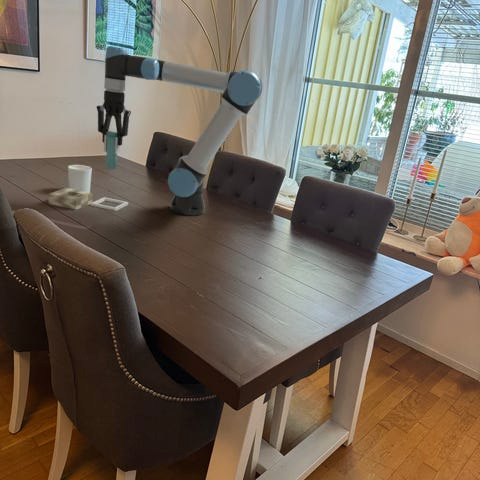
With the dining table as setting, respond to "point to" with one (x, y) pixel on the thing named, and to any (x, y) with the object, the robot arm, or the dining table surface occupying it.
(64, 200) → the beige socket block
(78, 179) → the candle holder
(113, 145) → the plug
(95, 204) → the tray
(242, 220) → the dining table surface
